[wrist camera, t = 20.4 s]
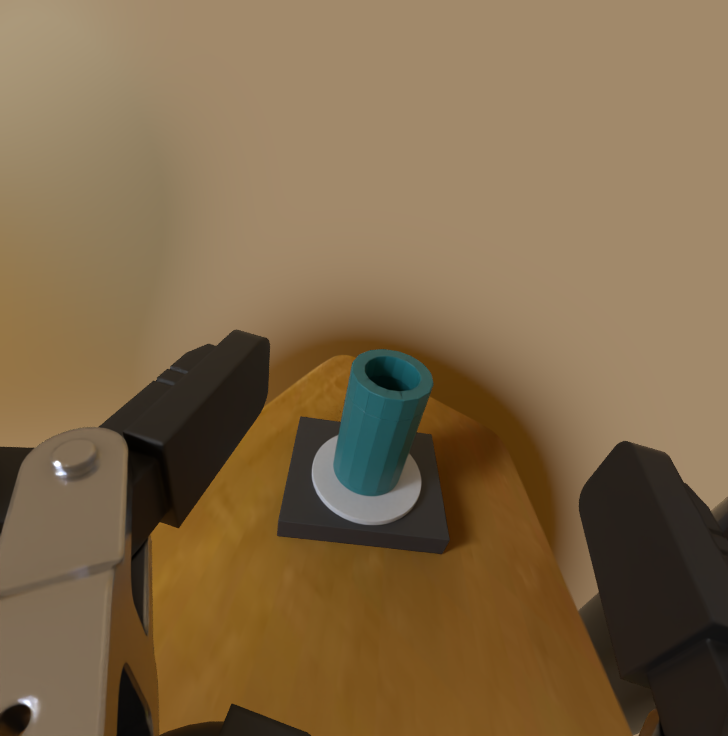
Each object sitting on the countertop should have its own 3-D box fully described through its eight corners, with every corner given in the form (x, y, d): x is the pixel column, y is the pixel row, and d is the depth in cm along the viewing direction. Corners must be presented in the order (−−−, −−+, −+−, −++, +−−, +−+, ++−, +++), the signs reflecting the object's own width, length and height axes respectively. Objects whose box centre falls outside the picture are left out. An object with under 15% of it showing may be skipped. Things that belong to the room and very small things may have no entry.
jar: (397, 446, 39) (427, 355, 32) (402, 500, 34) (438, 405, 27) (335, 438, 38) (353, 344, 32) (330, 492, 33) (350, 393, 27)
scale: (426, 448, 43) (433, 430, 42) (442, 554, 33) (452, 536, 32) (298, 431, 42) (300, 411, 40) (276, 536, 32) (278, 516, 31)
